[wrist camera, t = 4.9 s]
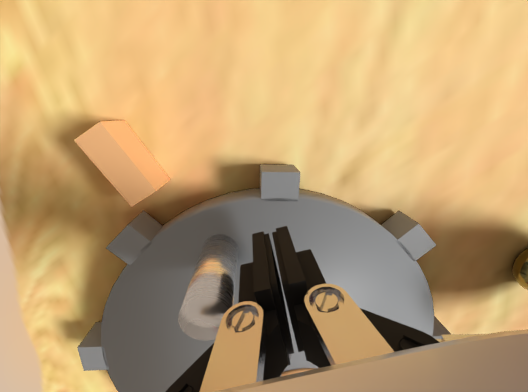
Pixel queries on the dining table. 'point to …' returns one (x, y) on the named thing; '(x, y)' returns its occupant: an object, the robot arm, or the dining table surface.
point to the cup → (521, 269)
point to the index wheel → (228, 275)
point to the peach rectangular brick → (123, 160)
